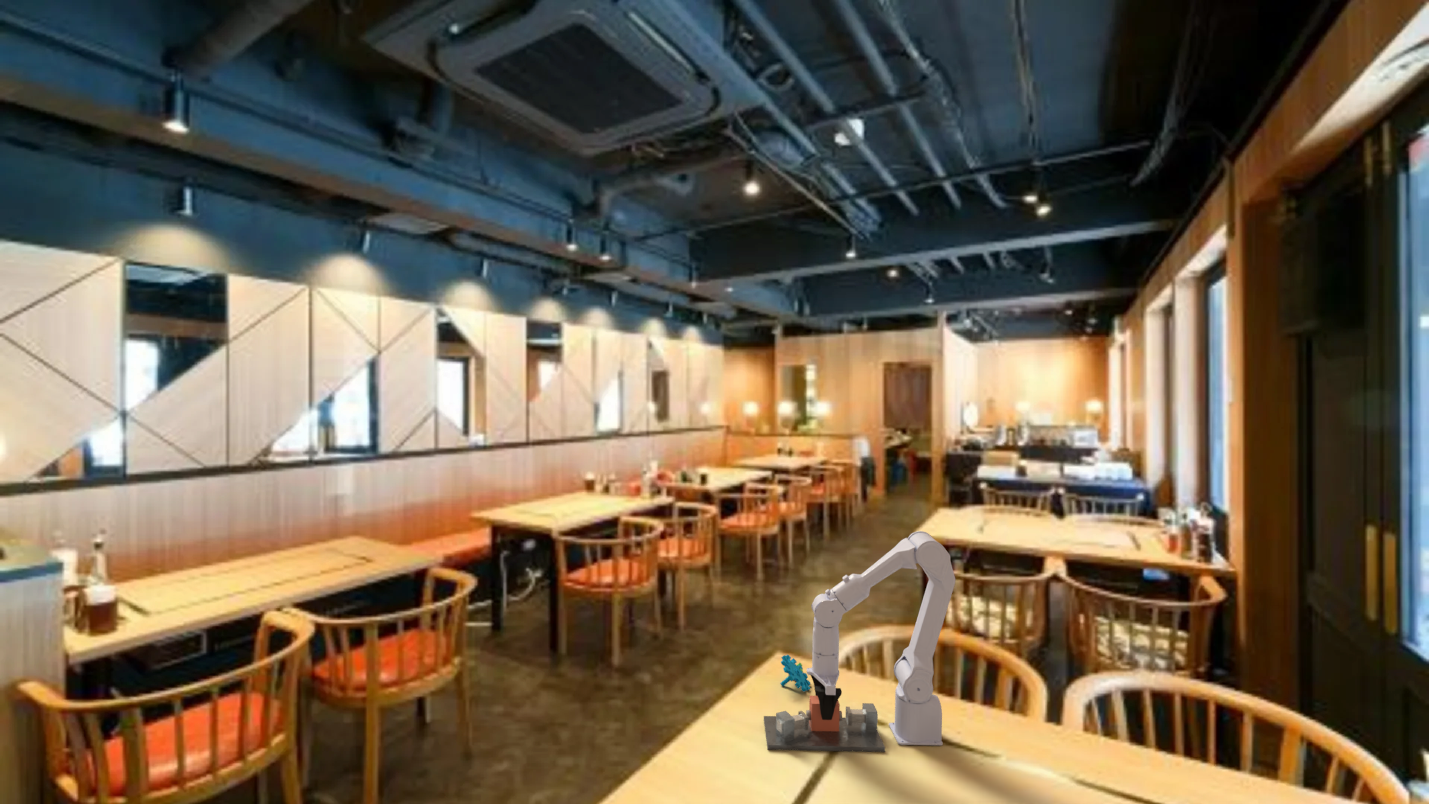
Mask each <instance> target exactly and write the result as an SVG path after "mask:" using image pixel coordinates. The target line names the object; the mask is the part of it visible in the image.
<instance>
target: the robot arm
mask: <svg viewBox="0 0 1429 804" xmlns="http://www.w3.org/2000/svg"><path fill="white" fill-rule="evenodd" d="M917 564H918V565H919V566H920V567H921V568H922V570H923V571H924V573H925V574H926V577H927V578H928V581H927V584H926V588H925V591H924V594H923V598H922V601H921V605H920V608H919V611H918V615H917V618H916V622H915V625H914V627H913V631H912V634H911V637H910V638H911V639H910V642H909V645H908V646H907V647H906V648H904V649H903V651H902V655H901V656H900V657H899V658H898V660H897V661H896V662H895V663H894V665H893V673H894V676H895V678H896V680H897V681H898V683H897V685H896V687H895V691H894V692H895V694H894V696H895V700H894V705H895V706H894V722H889V723H888V727H889V728H890V731H891V732H892V735H893V736H894V738H895V740H896V742H897V744H898V745H903V746H904V745H905V746H907V745H909V746H943V741H942V738H943V737H942V735H943V734H942V733H943V732H942V731H943V710H942V704H941V701H940V698H939V697H938V695H937V694H933V692H934V686H933V676H934V673H935V672H934V670H935V669H934V661H933V658H934V654H935V651H936V648H937V645H938V642H939V637H940V634H941V630H942V628H943V625H944V621H945V617H946V615H947V611H948V607H949V605H950V601H951V597H952V593H954V589H955V585H956V577H955V573H954V569H953V565H952V562H951V554H950V553H949V552H948V551H947V550H946V548H945V547H944V546H943V544H942V543H940V542H939V541H937V540H936V539H935V538H934V537H932V536H931V535H930V533H929V532H926V531H923V530H918V531H914V532H912V533H910V534H909V536H908V537H905V538H902V539H901V540H900V541H899V542H898V543H897V544H896V545H895V546H894V547H893V548H892V549H890V550H889V551H888V552H887V553H885V554H884V555H883V556H882V557H880V558H879V559H878V560H877V561H876V562H875V563H873V564H872V565H871V566H869V567H868V568H867V569H865V571H863V572H862V573H861V574H859V573H851V574H850V575H848V574H845V575H843V576H842V581H840V582H839V583H837V584H835V586H834V587H832V588H830V589H829V588H827V589H826V590H825V591H824V592H825V593H819V594H818V595H816V596H815V598H813V601H812V603H811V610H812V612H813V615H814V617H813V624H812V625H813V628H812V646H811V647H812V652H811V655H812V658H811V667H807V668H806V674H807V676H810V677H811V680H812V682H813V687H814V693H815V696H818V699H819V704H820V712H821V717H822V720H832V717H833V714H834V709H835V706H836V703H837V701H839V699H840V698H841V696H842V688H841V687H836V686H837V683H838V682H837V681H838V679H839V676H840V670H839V660H840V659H839V657H840V652H839V650H840V629H839V624H840V623H841V621H842V619H843V615H844V614H846V613H848V612H849V611H851V610H852V609H853V608H855V607H856V606H857V605H859V604H860V603H862V602H863V601H864V600H866V599H867V598H868V597H869V596H870V592H871V588H872V587H873V586H876V585H877V584H879V583H880V582H882V581H883V580H885V579H887V577H889V576H891V575H893V574H894V573H895V572H897V571H899V570H900V569H910V570H917V569H918V566H917Z"/></svg>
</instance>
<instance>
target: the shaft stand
mask: <svg viewBox="0 0 1429 804" xmlns="http://www.w3.org/2000/svg"><path fill="white" fill-rule="evenodd" d="M878 716H879V715H878V710H877V708H876V706H875V704H874V703H872V702H871V703H866V702H864V703H862V709H860V708H859V709H858V708H857V709H856V708H854V709H853V708H851V707H850V706H845V717H842V721H839V731H811V727H810V724H809V717H808V716H807V715H806V713H805V712H803V711H802V710H800V711H798V713H797V714H795V715H791V714H790V713H789V712H788V711H787V710H783V711H780V712H776V714H775V715H763V725H764V733H765V738H766V740H765V741H766V747H767V750H768V751H803V752H805V751H807V752H809V751H810V752H811V751H812V752H813V751H814V752H853V753H854V752H858V753H859V752H860V753H862V752H865V753H886V746H885V744H884V742H883V740H882V737H881V735H880V733H879V731H878V723H879V722H878Z"/></svg>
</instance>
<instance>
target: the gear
mask: <svg viewBox="0 0 1429 804" xmlns="http://www.w3.org/2000/svg"><path fill="white" fill-rule="evenodd" d="M780 663H781V665H782V666H783V668H782V669H783V672H784V673H785V674H788V676H787V677H786V678H784V679H783V680H782V681H780V685H781V687H784V686H785V685H787V684H788V683H789V682H793V681H795V682H796V683H794V685H795V687H796V689H800V690H801V691H802V692H804V693H806V691H807V692H809V691H810V690H811V687H810V685H811V681H810V680H809V679H808V676H809V675H808V674H807V672H804V668H803V664H802V663H801V662H799V663H798V662H797V660H796V659H795V658H794V657H793V658H792V657H791V656H790V655H789V654H786V655H782V656H781V661H780Z"/></svg>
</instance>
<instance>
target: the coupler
mask: <svg viewBox="0 0 1429 804" xmlns="http://www.w3.org/2000/svg"><path fill="white" fill-rule="evenodd" d="M808 702H809V705H808V709H807V710H806V711H805V712H806V713H805V714H806V715H807V716H808V717H809V724H810V727H811V731H839V721H842V718H843V714H842V710H840V709H841V708H840V706H841V705H840V702H839V700H838V701H837V703H836V706H835V709H834V714H833V717H832V720H822V717H821V712H820V704H819V699H818V696H816V695H809V701H808Z"/></svg>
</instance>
